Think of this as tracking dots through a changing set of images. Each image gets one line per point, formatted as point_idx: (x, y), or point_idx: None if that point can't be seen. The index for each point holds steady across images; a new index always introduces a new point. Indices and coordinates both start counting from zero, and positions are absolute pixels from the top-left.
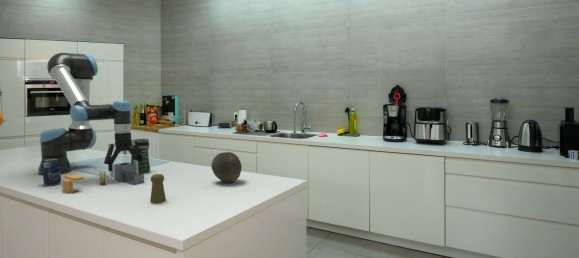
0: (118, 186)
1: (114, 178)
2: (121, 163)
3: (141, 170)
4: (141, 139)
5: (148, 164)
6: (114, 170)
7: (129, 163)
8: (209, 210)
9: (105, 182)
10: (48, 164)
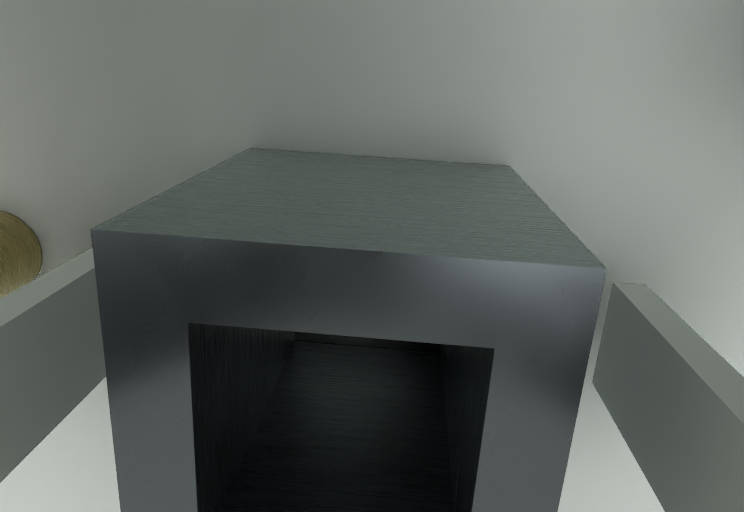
0: (110, 506)
1: (241, 156)
2: (346, 304)
3: None
4: None
5: None
6: (54, 424)
7: (491, 505)
8: None
9: (7, 294)
10: None
